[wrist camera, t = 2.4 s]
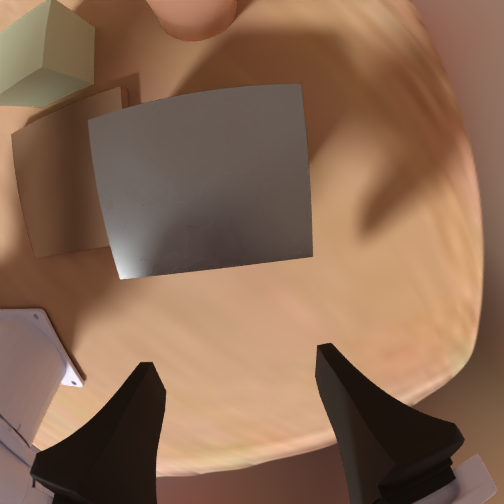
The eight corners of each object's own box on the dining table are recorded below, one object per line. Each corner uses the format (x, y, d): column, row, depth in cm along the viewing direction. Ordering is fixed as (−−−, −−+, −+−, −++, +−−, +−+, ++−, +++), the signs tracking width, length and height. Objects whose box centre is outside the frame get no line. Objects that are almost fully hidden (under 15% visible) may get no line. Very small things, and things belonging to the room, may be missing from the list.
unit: (155, 233, 14) (109, 294, 8) (137, 122, 12) (70, 111, 6) (290, 216, 14) (331, 269, 8) (280, 101, 12) (319, 67, 6)
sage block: (41, 107, 10) (-14, 105, 6) (43, 53, 9) (-6, 38, 4) (94, 84, 11) (42, 66, 6) (95, 27, 9) (51, -3, 4)
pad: (43, 252, 14) (35, 258, 13) (21, 133, 11) (11, 134, 10) (148, 234, 14) (143, 240, 13) (127, 89, 11) (120, 86, 10)
